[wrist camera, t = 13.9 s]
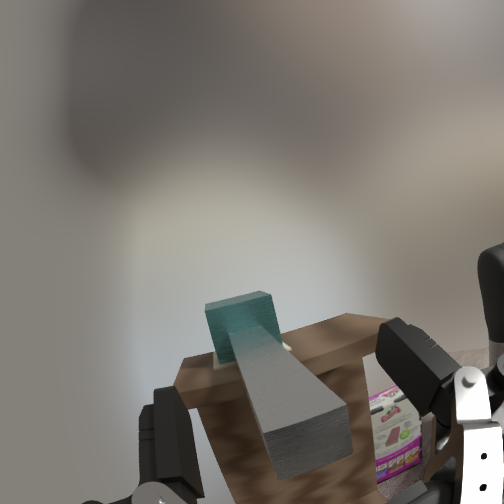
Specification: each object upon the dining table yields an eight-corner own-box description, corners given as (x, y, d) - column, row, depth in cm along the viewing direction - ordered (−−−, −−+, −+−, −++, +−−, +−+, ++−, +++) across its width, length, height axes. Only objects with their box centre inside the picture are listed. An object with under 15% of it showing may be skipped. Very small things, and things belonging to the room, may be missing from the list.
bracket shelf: (372, 490, 31) (346, 311, 34) (408, 528, 19) (404, 319, 22) (252, 532, 28) (183, 356, 31) (265, 583, 16) (168, 392, 19)
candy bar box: (409, 450, 38) (405, 379, 39) (422, 462, 33) (421, 387, 34) (355, 475, 37) (344, 405, 38) (365, 490, 32) (356, 417, 33)
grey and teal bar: (270, 334, 31) (259, 290, 32) (386, 437, 9) (374, 325, 9) (217, 347, 30) (205, 303, 31) (238, 490, 8) (196, 379, 8)
